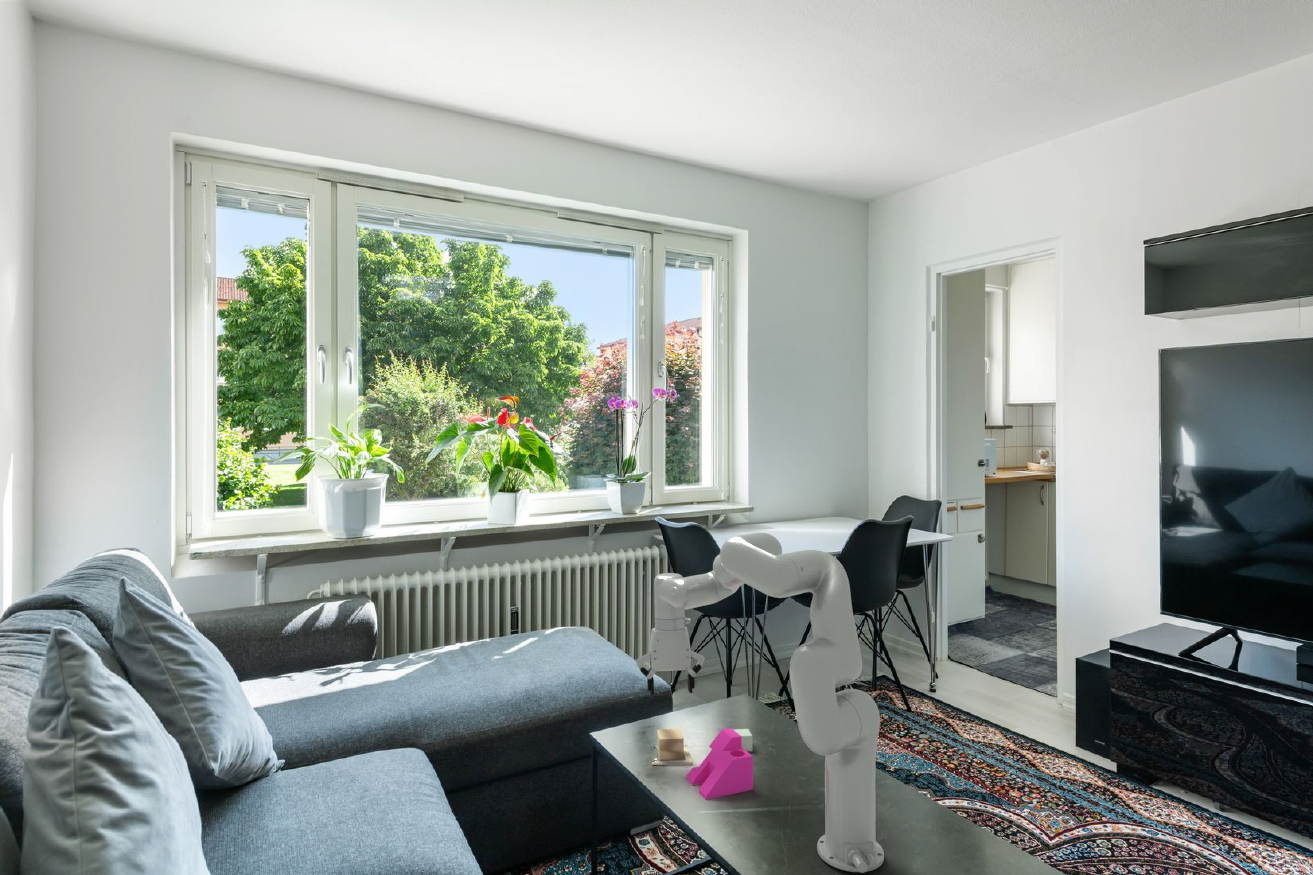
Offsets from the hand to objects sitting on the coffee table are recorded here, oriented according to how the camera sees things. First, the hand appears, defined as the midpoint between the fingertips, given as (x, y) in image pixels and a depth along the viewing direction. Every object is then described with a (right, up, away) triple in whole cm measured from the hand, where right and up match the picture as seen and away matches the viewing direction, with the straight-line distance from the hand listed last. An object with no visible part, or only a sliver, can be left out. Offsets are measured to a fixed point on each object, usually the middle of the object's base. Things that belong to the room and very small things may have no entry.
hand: (671, 692), depth 179 cm
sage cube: (+18, -17, +5) cm, 25 cm away
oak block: (0, -16, 0) cm, 16 cm away
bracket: (+11, -17, -13) cm, 24 cm away
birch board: (0, -17, 0) cm, 17 cm away
